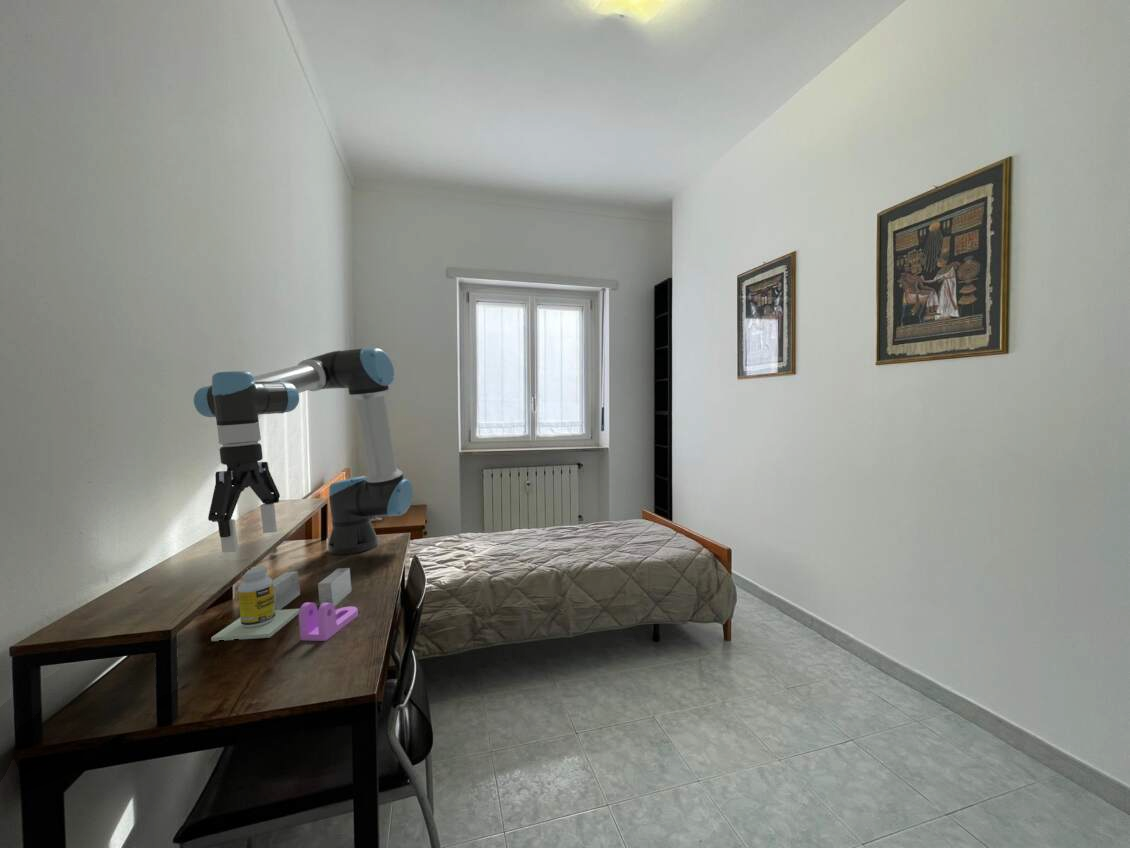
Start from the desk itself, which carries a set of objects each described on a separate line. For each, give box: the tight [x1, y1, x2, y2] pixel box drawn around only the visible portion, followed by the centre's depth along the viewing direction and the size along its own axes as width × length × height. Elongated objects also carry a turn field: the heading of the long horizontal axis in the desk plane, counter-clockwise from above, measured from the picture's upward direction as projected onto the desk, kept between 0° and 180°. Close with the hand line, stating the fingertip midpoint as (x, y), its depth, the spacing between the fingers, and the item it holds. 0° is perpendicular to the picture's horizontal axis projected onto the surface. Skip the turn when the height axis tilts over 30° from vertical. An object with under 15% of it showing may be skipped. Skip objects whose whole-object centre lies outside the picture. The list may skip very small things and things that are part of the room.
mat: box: [210, 608, 300, 642], centre depth 107 cm, size 12×12×1 cm
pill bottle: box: [237, 565, 276, 627], centre depth 106 cm, size 6×6×12 cm
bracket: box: [298, 602, 359, 642], centre depth 104 cm, size 13×6×7 cm, turn 170°
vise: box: [272, 567, 353, 610], centre depth 118 cm, size 10×21×6 cm, turn 90°
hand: (251, 541), depth 106 cm, fingers open, 13 cm apart
